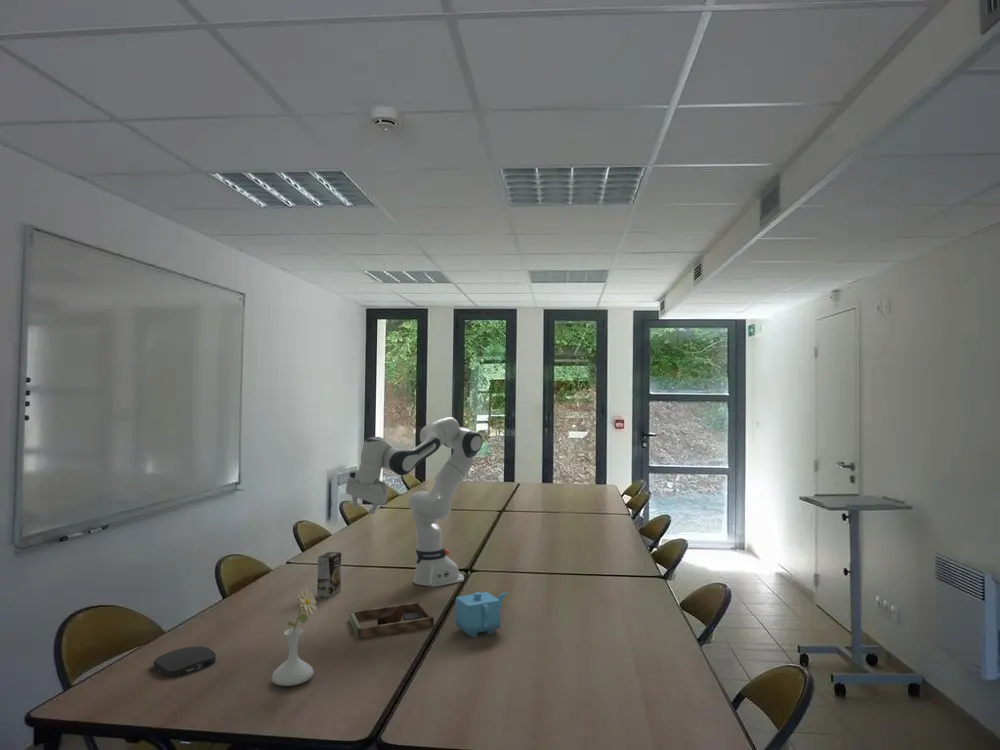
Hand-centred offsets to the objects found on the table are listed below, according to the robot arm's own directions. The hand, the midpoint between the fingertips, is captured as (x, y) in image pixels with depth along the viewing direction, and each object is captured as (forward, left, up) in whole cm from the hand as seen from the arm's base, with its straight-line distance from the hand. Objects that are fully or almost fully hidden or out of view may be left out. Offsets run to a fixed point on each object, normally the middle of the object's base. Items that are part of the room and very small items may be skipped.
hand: (363, 510), depth 240 cm
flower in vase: (+30, +61, -36) cm, 77 cm away
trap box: (-5, +29, -36) cm, 46 cm away
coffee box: (+11, -14, -36) cm, 40 cm away
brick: (-4, +30, -36) cm, 47 cm away
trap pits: (-13, +29, -36) cm, 48 cm away
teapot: (-34, +48, -36) cm, 69 cm away
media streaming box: (+60, +37, -36) cm, 80 cm away
